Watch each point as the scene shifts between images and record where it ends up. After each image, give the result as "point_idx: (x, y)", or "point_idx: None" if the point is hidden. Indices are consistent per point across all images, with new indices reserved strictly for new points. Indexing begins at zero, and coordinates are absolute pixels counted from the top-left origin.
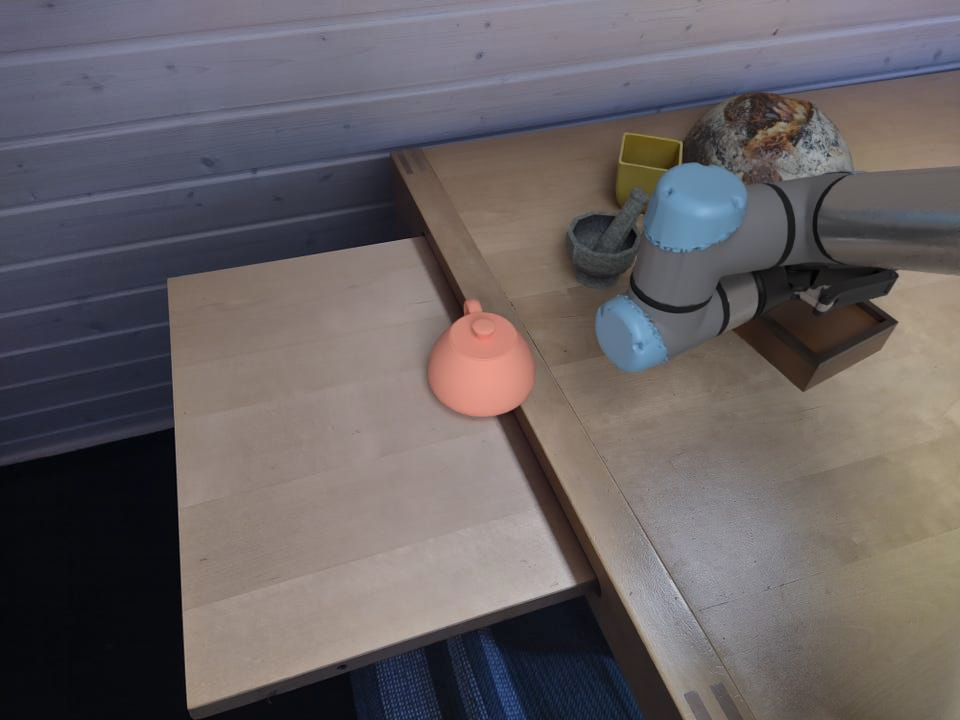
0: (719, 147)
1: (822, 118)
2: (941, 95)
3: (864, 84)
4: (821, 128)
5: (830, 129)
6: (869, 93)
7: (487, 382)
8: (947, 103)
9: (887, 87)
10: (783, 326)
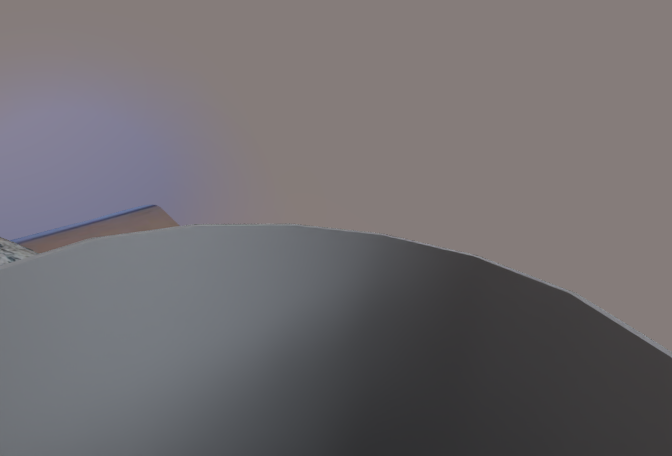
0: None
1: (6, 244)
2: (163, 220)
3: (75, 228)
4: (8, 257)
5: (30, 256)
6: (86, 234)
7: None
8: (174, 224)
9: (104, 225)
10: None
